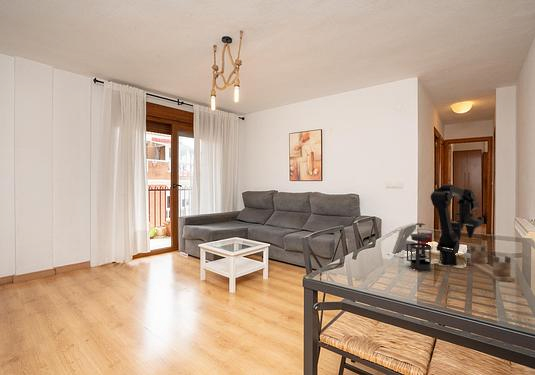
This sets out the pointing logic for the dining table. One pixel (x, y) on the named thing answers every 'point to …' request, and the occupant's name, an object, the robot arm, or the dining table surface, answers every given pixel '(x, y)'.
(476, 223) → the robot arm
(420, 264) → the french press
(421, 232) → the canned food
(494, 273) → the hook rack
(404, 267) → the dining table surface
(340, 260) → the dining table surface
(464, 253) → the steel bar
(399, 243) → the phone holder
